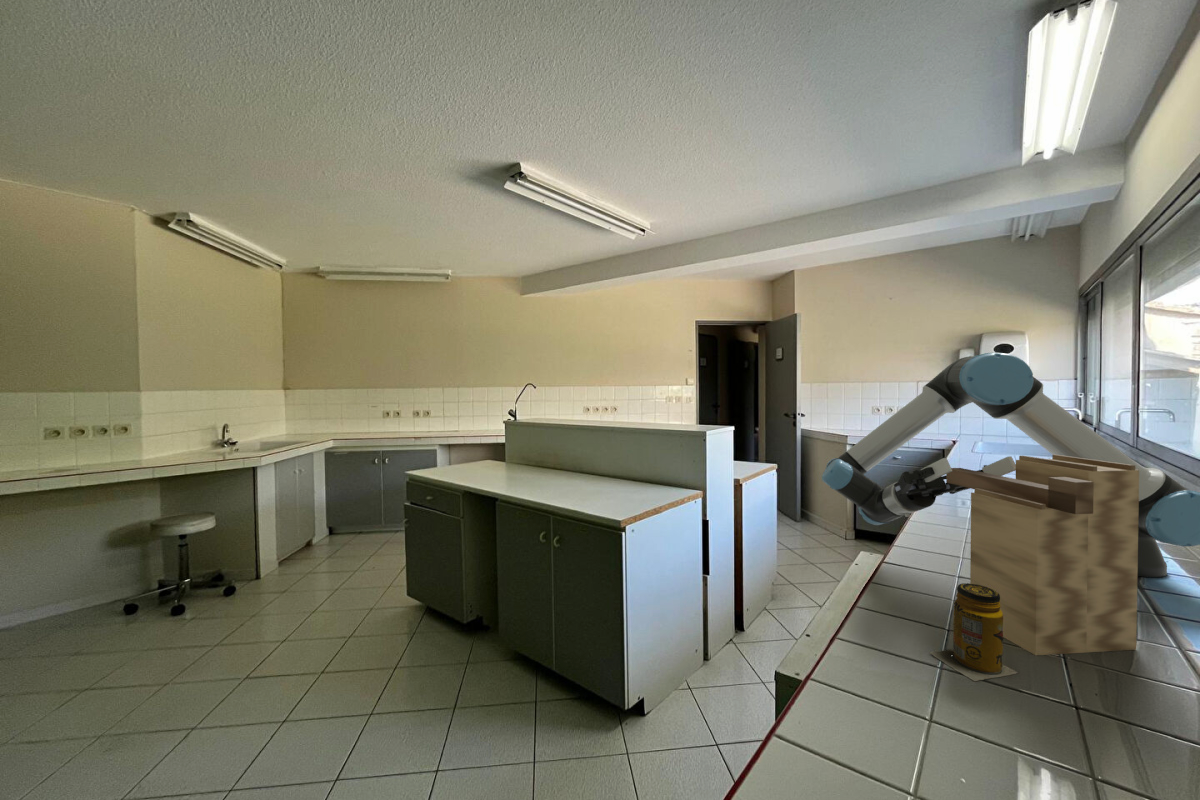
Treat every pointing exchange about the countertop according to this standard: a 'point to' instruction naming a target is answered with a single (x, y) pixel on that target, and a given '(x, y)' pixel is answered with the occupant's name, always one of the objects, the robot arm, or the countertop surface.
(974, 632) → the condiment
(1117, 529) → the notch post
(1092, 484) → the frame bar
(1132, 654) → the countertop surface
